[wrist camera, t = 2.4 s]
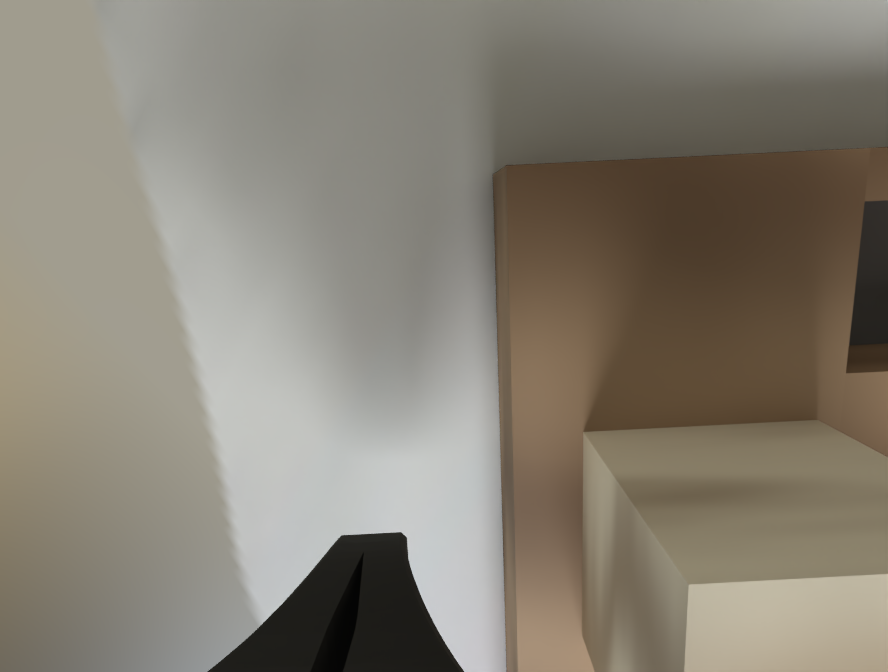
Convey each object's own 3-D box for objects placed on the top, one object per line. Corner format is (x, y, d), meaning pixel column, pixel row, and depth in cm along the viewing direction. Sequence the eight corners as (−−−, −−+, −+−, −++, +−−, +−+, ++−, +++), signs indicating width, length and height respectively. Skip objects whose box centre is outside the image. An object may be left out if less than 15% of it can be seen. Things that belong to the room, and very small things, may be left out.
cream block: (796, 623, 13) (1018, 871, 8) (582, 635, 13) (672, 891, 8) (817, 419, 12) (1086, 563, 7) (583, 432, 12) (688, 585, 7)
